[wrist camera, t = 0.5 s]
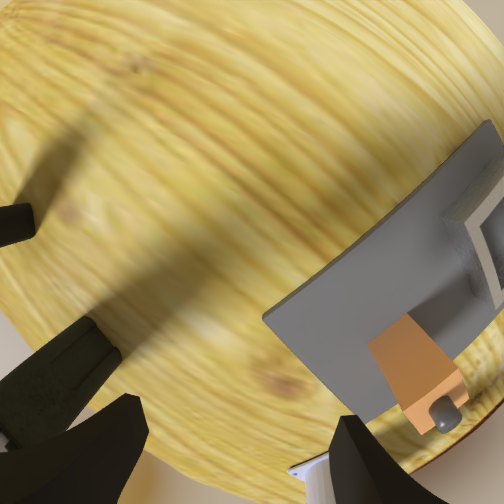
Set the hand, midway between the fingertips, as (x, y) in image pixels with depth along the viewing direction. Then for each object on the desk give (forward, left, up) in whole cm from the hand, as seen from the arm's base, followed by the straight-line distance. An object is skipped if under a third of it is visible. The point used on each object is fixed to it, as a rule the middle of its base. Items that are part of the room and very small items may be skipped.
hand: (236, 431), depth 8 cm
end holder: (-6, -17, -10) cm, 21 cm away
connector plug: (-8, -6, -9) cm, 14 cm away
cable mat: (-7, -12, -10) cm, 17 cm away
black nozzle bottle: (+6, +14, -10) cm, 18 cm away
